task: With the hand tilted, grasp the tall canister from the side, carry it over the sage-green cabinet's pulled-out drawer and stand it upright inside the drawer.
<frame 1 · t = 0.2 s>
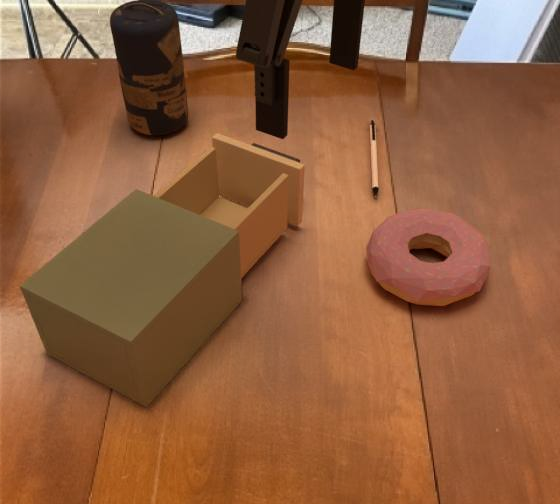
hand: (309, 97, 62), 27 cm above the table, tool pointing down, fingers open, 13 cm apart
cabinet: (147, 326, 80), on the table
pen: (373, 160, 101), on the table
donut: (424, 271, 87), on the table
canister: (159, 124, 107), on the table
drawer: (232, 204, 86), point 5 cm above the table, slide at 14.5 cm
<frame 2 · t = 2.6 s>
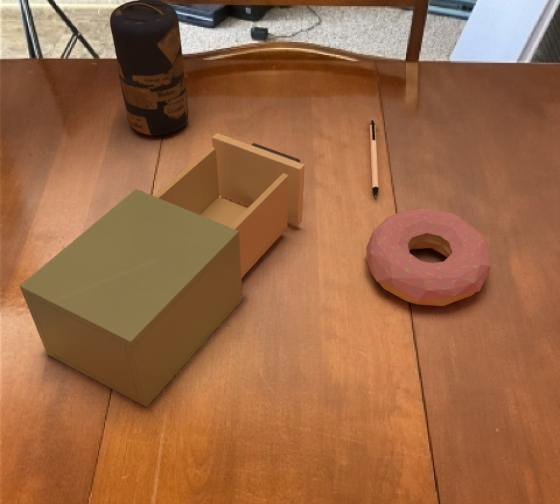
nothing on the table moved.
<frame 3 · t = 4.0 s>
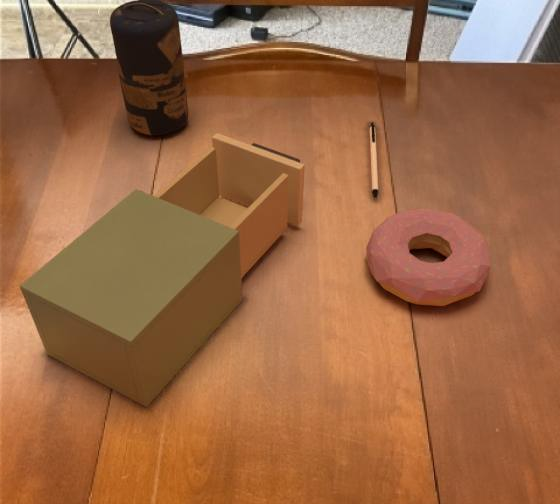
nothing on the table moved.
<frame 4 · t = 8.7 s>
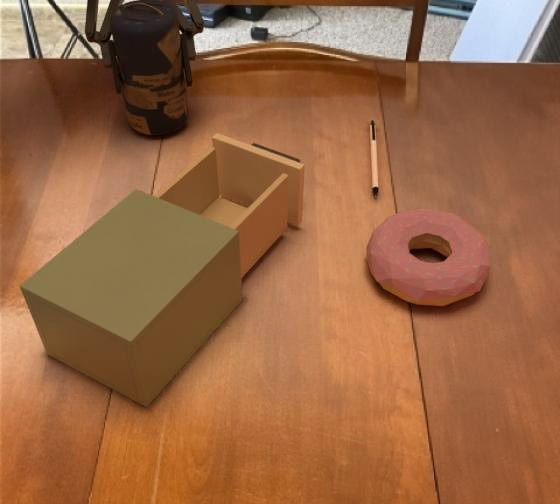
hand: (154, 86, 99), 8 cm above the table, tool tilted 45°, fingers closed on canister, 9 cm apart
canister: (159, 124, 107), on the table, touching gripper
everything else where it was.
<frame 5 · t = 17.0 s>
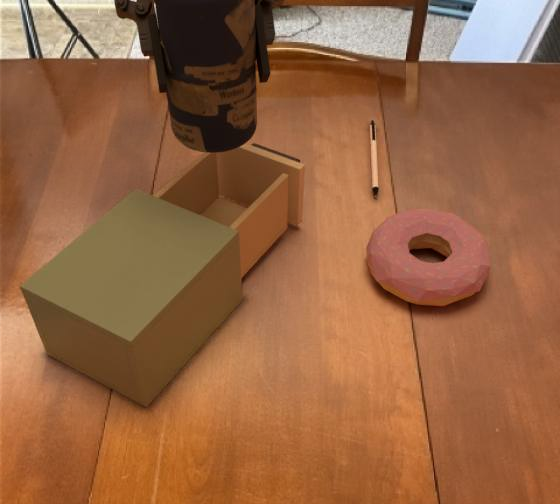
hand: (214, 83, 68), 24 cm above the table, tool tilted 45°, fingers closed on canister, 9 cm apart
canister: (214, 136, 76), point 16 cm above the table, touching gripper
everything else where it was.
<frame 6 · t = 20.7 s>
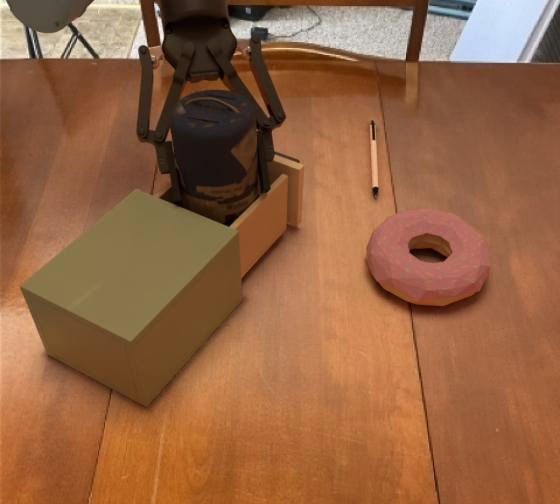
hand: (222, 196, 78), 11 cm above the table, tool tilted 45°, fingers closed on canister, 9 cm apart
canister: (222, 233, 86), point 3 cm above the table, touching gripper
drawer: (232, 205, 86), point 5 cm above the table, slide at 14.4 cm, touching gripper
everything else where it was.
when the fingers open (11 cm above the table, at t = 25.6 s): canister stays where it is, resting on drawer.
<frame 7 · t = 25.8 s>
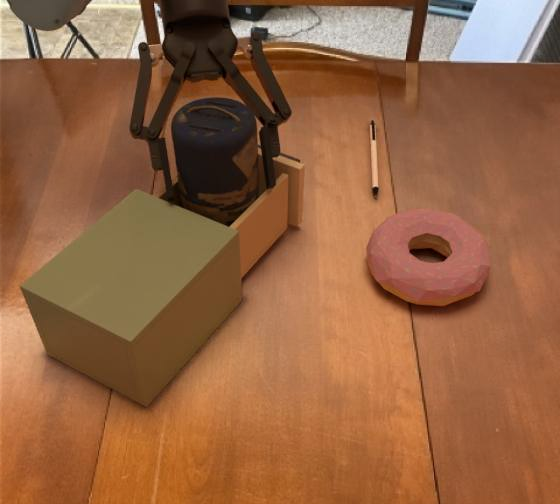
hand: (221, 193, 78), 11 cm above the table, tool tilted 45°, fingers open, 11 cm apart
canister: (223, 238, 87), point 2 cm above the table, touching drawer
drawer: (232, 204, 86), point 5 cm above the table, slide at 14.5 cm, touching canister
everything else where it was.
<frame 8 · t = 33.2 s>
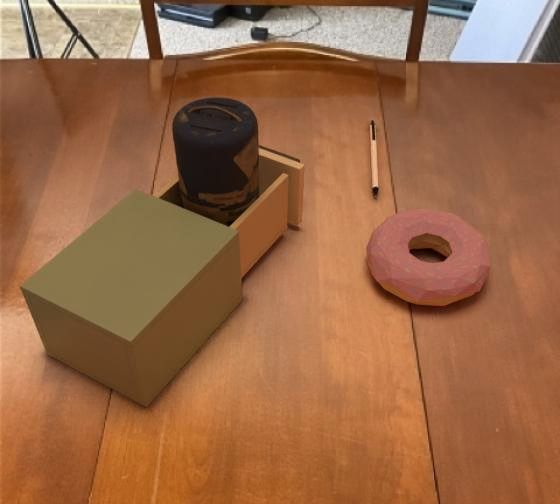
nothing on the table moved.
at the end: canister inside the target area in the drawer (0.4 cm from its centre), point 1.9 cm above the cabinet's base; canister tilted 0°; the gripper is holding nothing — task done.
